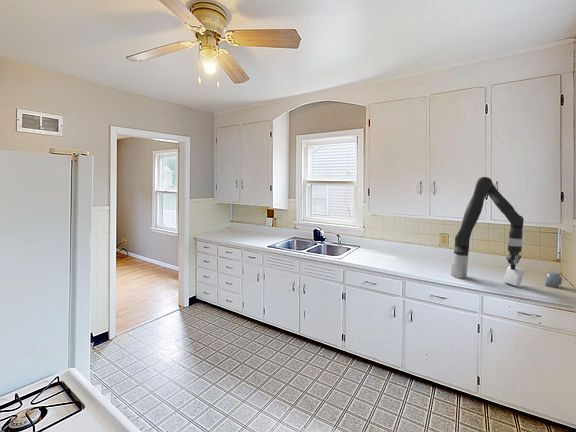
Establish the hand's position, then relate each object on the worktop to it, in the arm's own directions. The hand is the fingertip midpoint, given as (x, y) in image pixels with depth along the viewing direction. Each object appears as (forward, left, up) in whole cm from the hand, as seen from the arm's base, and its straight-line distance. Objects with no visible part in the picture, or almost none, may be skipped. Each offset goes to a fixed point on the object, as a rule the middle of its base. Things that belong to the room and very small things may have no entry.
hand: (512, 269), depth 204 cm
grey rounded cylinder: (+13, +23, -11) cm, 29 cm away
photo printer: (0, 0, -11) cm, 11 cm away
